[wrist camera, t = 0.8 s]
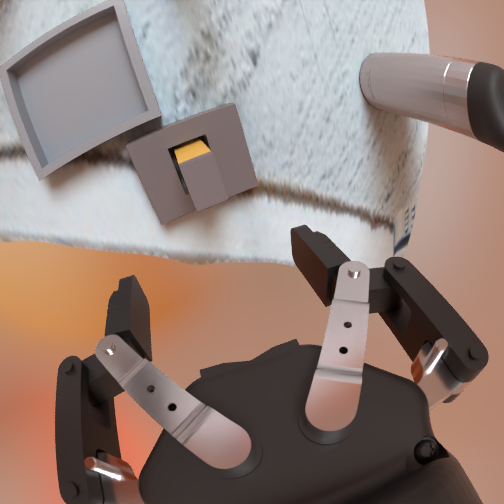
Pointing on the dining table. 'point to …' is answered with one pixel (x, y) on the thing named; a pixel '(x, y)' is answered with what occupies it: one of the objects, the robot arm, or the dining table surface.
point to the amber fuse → (200, 174)
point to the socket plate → (163, 168)
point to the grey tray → (78, 87)
